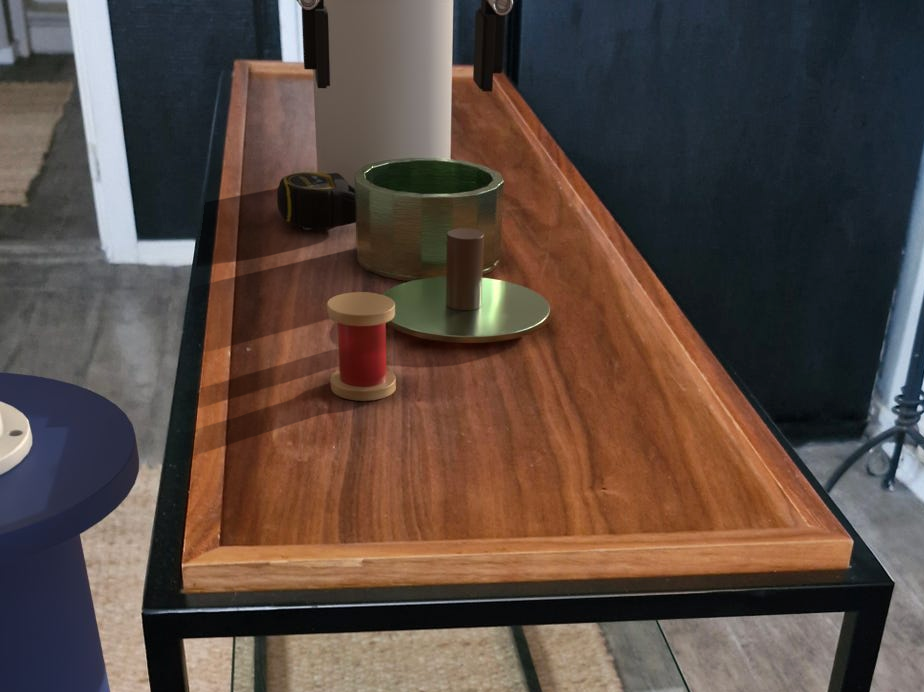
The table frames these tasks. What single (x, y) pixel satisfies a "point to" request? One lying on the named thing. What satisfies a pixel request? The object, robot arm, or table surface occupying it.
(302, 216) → the tape measure
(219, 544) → the table surface
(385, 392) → the spool
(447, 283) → the lid
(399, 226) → the sewing tin
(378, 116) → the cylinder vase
